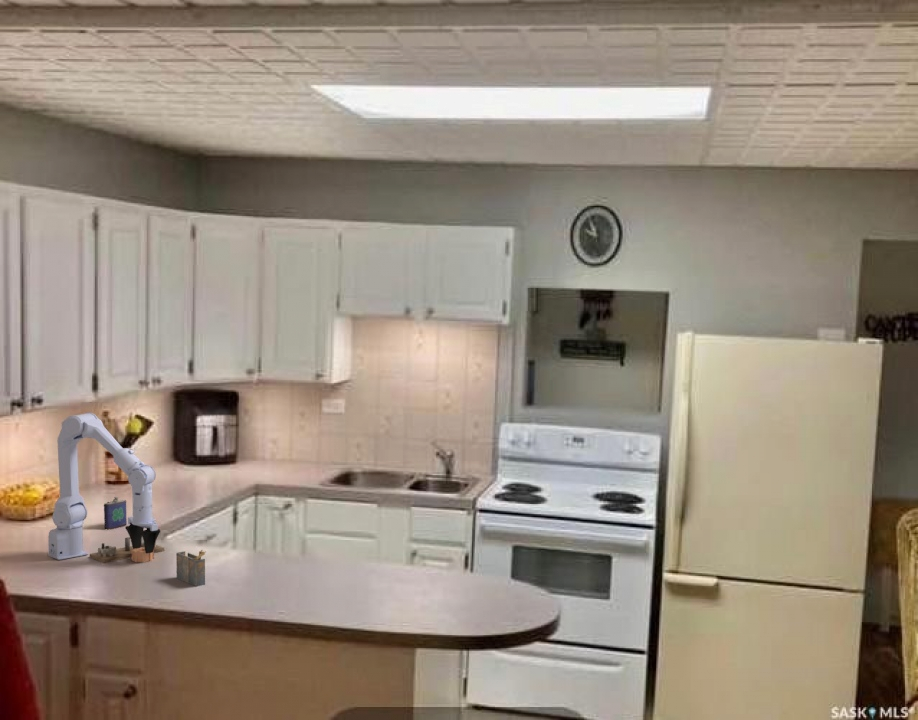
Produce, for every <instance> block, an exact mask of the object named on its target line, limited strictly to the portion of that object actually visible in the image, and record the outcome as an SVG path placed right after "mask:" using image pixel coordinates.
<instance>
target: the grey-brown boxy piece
mask: <svg viewBox="0 0 918 720" xmlns="http://www.w3.org/2000/svg"><path fill="white" fill-rule="evenodd" d="M175 553H176V554H175V555H176V579H178V580H180V581H183V582H185V583H187V584H189V585H192V586H194V587H201V586H205V585H206V559H205V558H202V557H203V556H204V555H206V553H207V551H206V550H204V551H203V549H201V550H200V551H199V552H198V555H196V554H194V553H191V552H187V555H186V550H185V551H183V550H182V551H179V552H175Z"/></svg>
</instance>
